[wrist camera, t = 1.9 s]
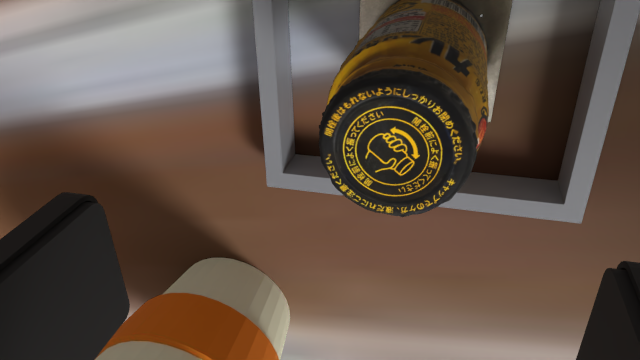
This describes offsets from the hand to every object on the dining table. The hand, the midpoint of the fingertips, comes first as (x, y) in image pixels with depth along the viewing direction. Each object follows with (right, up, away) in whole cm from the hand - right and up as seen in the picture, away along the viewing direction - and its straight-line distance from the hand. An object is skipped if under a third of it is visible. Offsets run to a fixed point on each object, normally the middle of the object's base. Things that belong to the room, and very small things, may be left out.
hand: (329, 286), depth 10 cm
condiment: (+5, +9, +17) cm, 20 cm away
